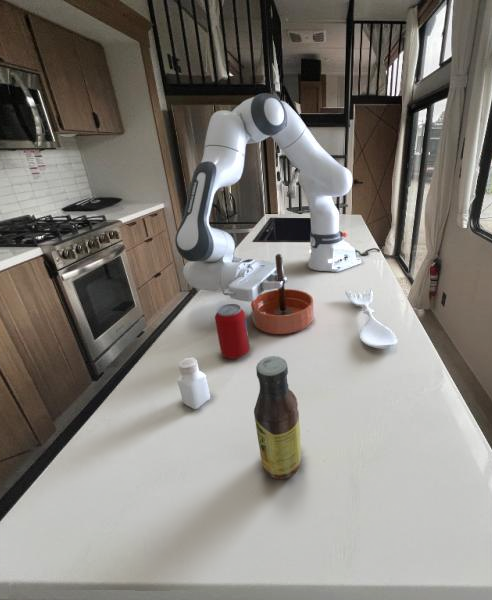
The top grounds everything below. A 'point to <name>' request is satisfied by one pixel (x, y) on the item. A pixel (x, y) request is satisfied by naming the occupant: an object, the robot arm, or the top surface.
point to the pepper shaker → (192, 384)
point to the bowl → (282, 323)
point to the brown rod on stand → (281, 291)
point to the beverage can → (232, 331)
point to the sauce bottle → (277, 420)
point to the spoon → (372, 324)
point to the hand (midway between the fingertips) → (283, 282)
